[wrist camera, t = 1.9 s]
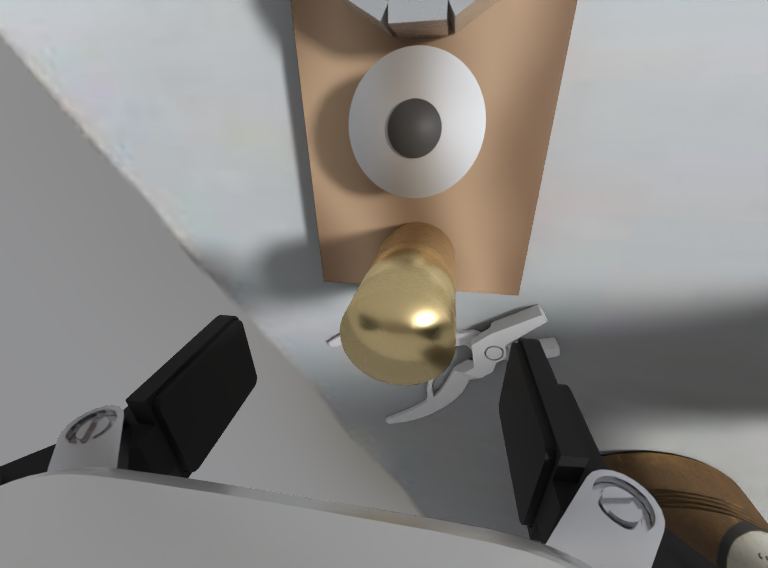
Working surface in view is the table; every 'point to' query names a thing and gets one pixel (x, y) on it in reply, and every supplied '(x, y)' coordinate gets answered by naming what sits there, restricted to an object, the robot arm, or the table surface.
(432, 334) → the brass peg
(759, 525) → the wooden container
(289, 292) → the table surface
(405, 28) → the ring
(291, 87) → the table surface
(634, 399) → the table surface
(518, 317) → the pliers
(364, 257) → the fitting board
